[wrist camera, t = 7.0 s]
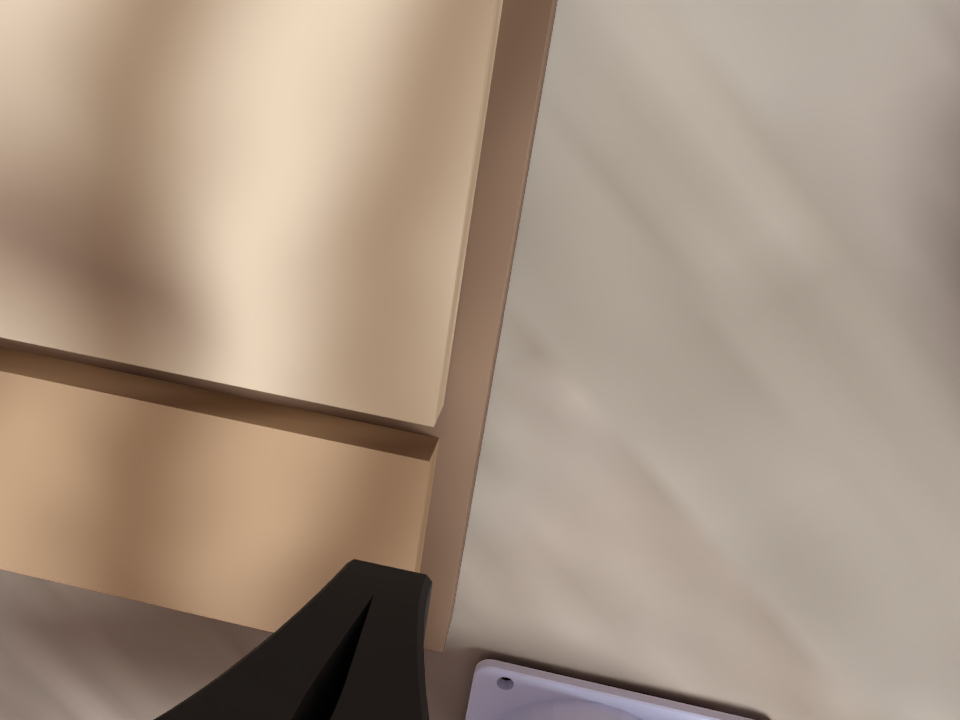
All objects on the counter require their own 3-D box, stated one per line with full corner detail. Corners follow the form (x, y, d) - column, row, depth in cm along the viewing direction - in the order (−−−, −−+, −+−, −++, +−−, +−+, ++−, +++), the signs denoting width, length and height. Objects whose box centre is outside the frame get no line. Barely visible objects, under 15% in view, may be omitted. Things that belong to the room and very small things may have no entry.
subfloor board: (579, -128, 17) (573, -154, 14) (451, 618, 25) (433, 684, 22) (-127, -231, 18) (-245, -272, 16) (-30, 509, 26) (-97, 559, 24)
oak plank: (508, -34, 16) (500, -39, 15) (443, 405, 20) (433, 427, 19) (-128, -134, 17) (-178, -145, 16) (-72, 300, 21) (-109, 314, 20)
